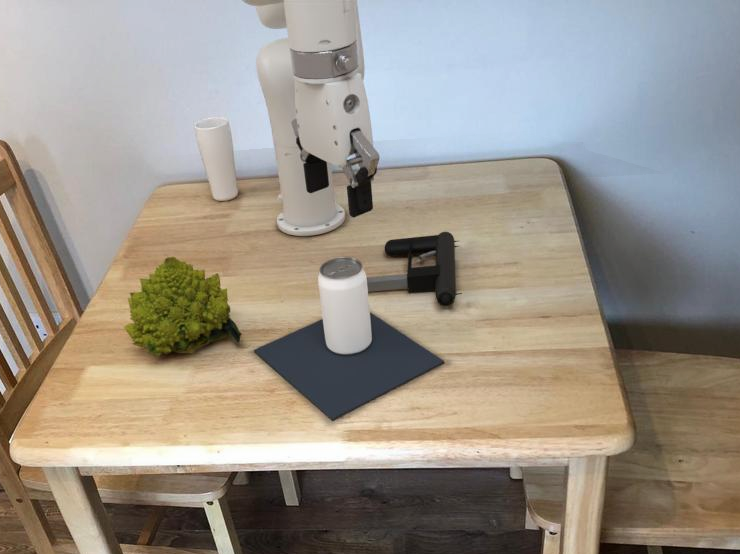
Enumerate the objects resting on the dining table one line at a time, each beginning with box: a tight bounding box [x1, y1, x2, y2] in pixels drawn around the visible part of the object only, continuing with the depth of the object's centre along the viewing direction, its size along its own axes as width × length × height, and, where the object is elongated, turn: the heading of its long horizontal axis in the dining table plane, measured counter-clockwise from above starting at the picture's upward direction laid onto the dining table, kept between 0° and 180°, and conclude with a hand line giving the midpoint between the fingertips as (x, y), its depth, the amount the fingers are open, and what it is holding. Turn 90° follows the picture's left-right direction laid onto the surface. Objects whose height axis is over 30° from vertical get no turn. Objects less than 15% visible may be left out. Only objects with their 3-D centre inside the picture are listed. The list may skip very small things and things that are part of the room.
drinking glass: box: [193, 116, 239, 202], centre depth 149 cm, size 7×7×15 cm
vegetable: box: [123, 256, 242, 357], centre depth 110 cm, size 15×16×15 cm
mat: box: [253, 312, 445, 422], centre depth 104 cm, size 20×18×1 cm
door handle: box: [366, 231, 463, 308], centre depth 119 cm, size 3×20×16 cm
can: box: [317, 256, 372, 355], centre depth 103 cm, size 6×6×12 cm
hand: (339, 201), depth 96 cm, fingers open, 9 cm apart
